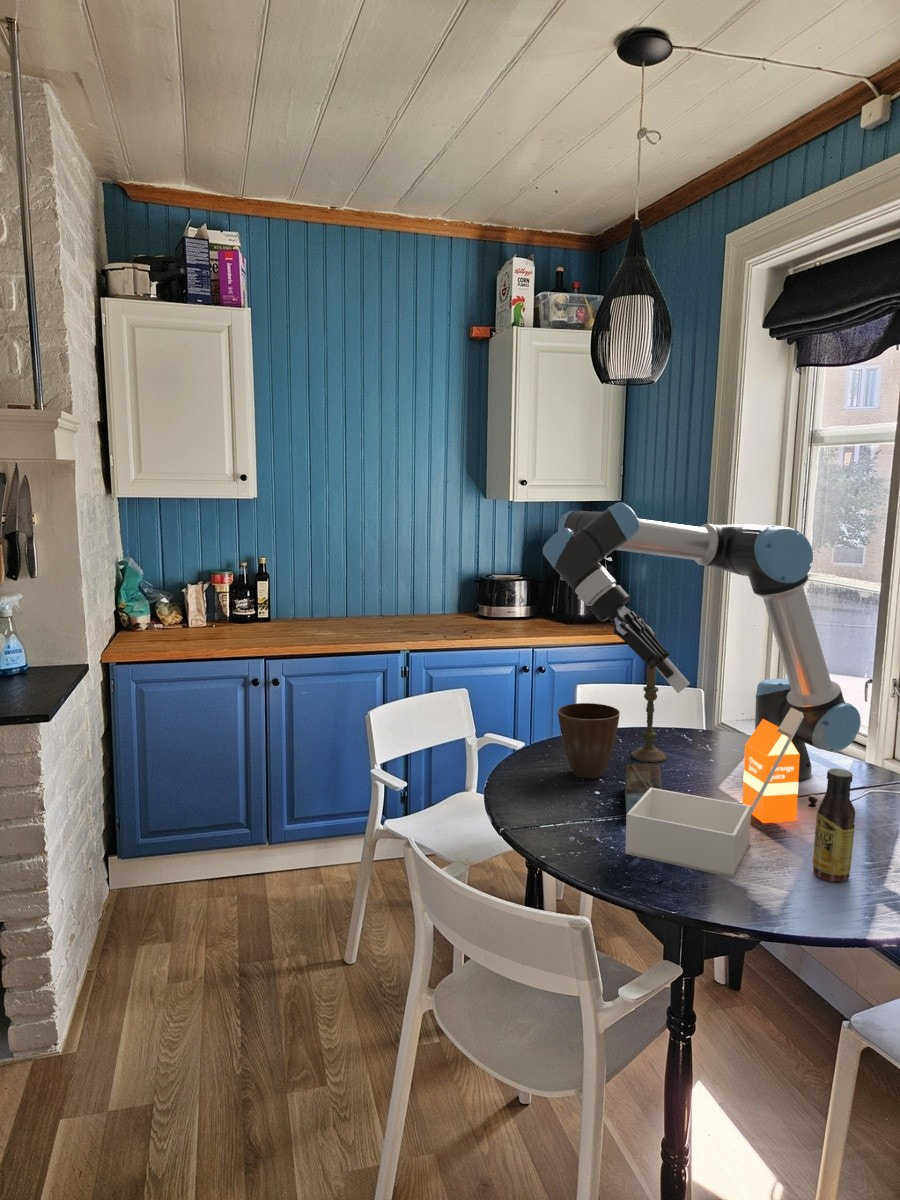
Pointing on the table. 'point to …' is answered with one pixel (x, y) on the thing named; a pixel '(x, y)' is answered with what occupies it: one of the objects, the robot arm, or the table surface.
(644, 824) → the box
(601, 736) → the plant pot
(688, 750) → the table surface
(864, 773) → the table surface
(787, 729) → the mailer lid
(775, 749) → the orange juice
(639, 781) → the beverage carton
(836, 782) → the sauce bottle
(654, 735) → the candlestick holder
